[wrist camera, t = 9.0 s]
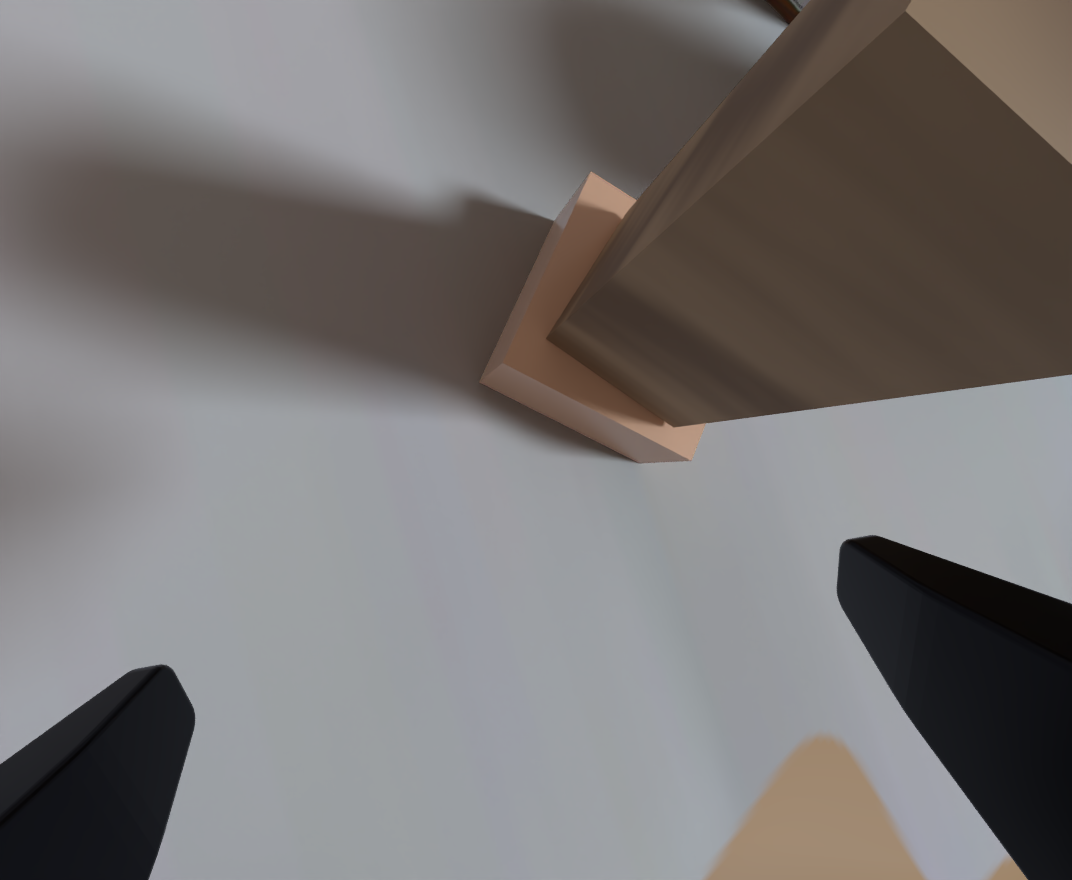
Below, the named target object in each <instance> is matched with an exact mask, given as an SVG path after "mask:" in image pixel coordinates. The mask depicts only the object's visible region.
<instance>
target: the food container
mask: <svg viewBox="0 0 1072 880" xmlns="http://www.w3.org/2000/svg"><path fill="white" fill-rule="evenodd" d="M765 1H766V2H767V3H768V4H769V5H770V6H771V7H772V8H773V9H774V10H775V11H776V12H777V13H778V14H779V15H780V16H781V17H782V18H783V19H784V20H785V21H786V22H787V23H788V24H790V23H791V22H792V21H793V20H794V18H795V17H796V16H797V15H798V14H799V13H800V12H801V10H802V9H803V8H804V7H805V6H806V5H807V3H808V2H809V1H810V0H765Z"/></svg>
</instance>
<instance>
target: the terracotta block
mask: <svg viewBox="0 0 1072 880" xmlns="http://www.w3.org/2000/svg"><path fill="white" fill-rule="evenodd" d="M636 201H637V200H635V199H634V198H632V197H631V196H629V195H627V194H626V193H624V192H623V191H621V190H620V189H618V188H616V187H615V186H613V185H612V184H610V183H609V182H607V181H605V180H604V179H602V178H601V177H599V176H597V175H596V174H594V173H593V172H590V173H589V175H588V176H587V177H586V179H585V180H584V181H583V183H582V184H581V185H580V187H579V188H578V189H577V191H576V192H575V193H574V195H573V196H572V198H571V199H570V200H569V202H568V203H567V204H566V206H565V207H564V208H563V210H562V211H561V212H560V214H559V215H558V216H557V218H556V219H555V221H554V222H553V224H552V227H551V229H550V231H549V233H548V235H547V237H546V239H545V242H544V244H543V246H542V248H541V250H540V252H539V254H538V257H537V259H536V261H535V263H534V265H533V267H532V269H531V272H530V274H529V276H528V278H527V280H526V282H525V284H524V287H523V289H522V291H521V293H520V295H519V297H518V299H517V302H516V304H515V306H514V308H513V310H512V312H511V314H510V317H509V319H508V321H507V323H506V325H505V327H504V329H503V332H502V334H501V336H500V338H499V340H498V342H497V344H496V347H495V349H494V351H493V353H492V355H491V357H490V359H489V362H488V364H487V366H486V368H485V370H484V372H483V374H482V377H481V379H480V381H479V383H481V384H483V385H485V386H487V387H489V388H491V389H493V390H495V391H497V392H499V393H501V394H503V395H505V396H507V397H509V398H511V399H513V400H515V401H517V402H519V403H521V404H523V405H525V406H527V407H529V408H531V409H533V410H535V411H537V412H539V413H541V414H543V415H545V416H547V417H549V418H551V419H553V420H555V421H557V422H559V423H561V424H563V425H565V426H567V427H569V428H571V429H572V430H574V431H576V432H578V433H580V434H582V435H584V436H586V437H588V438H590V439H592V440H594V441H596V442H598V443H600V444H602V445H604V446H606V447H608V448H610V449H612V450H614V451H616V452H618V453H620V454H622V455H624V456H626V457H628V458H630V459H632V460H634V461H636V462H638V463H655V462H677V461H692V458H693V456H694V453H695V450H696V448H697V445H698V443H699V440H700V437H701V435H702V432H703V430H704V427H705V424H706V423H704V424H697V425H689V426H682V427H674V428H673V427H672V426H671V425H669V424H668V423H666V422H665V421H663V420H662V419H660V418H659V417H658V416H656V415H655V414H653V413H652V412H650V411H649V410H648V409H646V408H645V407H643V406H642V405H640V404H639V403H637V402H636V401H635V400H633V399H632V398H630V397H629V396H627V395H626V394H624V393H623V392H622V391H620V390H619V389H617V388H616V387H614V386H613V385H612V384H610V383H609V382H607V381H606V380H604V379H603V378H601V377H600V376H599V375H597V374H596V373H594V372H593V371H591V370H590V369H589V368H587V367H586V366H584V365H583V364H581V363H580V362H578V361H577V360H576V359H574V358H573V357H571V356H570V355H568V354H567V353H566V352H564V351H563V350H561V349H560V348H558V347H557V346H555V345H554V344H553V343H551V342H550V341H548V340H547V339H546V337H547V336H548V334H549V333H550V331H551V330H552V328H553V327H554V325H555V323H556V322H557V320H558V319H559V317H560V316H561V314H562V313H563V311H564V309H565V308H566V306H567V305H568V303H569V302H570V300H571V298H572V297H573V295H574V294H575V292H576V291H577V289H578V288H579V286H580V284H581V283H582V281H583V280H584V278H585V277H586V275H587V273H588V272H589V270H590V269H591V267H592V266H593V264H594V263H595V261H596V259H597V258H598V256H599V255H600V253H601V252H602V250H603V248H604V247H605V245H606V244H607V242H608V241H609V239H610V238H611V236H612V234H613V233H614V231H615V230H616V228H617V227H618V225H619V224H620V222H621V220H622V219H623V217H624V216H625V214H626V213H627V211H628V210H629V209H630V208H631V207H632V205H633V204H634V203H635V202H636Z"/></svg>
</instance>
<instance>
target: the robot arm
mask: <svg viewBox="0 0 1072 880" xmlns="http://www.w3.org/2000/svg"><path fill="white" fill-rule="evenodd" d="M837 596H838V599H839V602H840V605H841V607H842V609H843V611H844V612H845V614H846V616H847V617H848V619H849V621H850V622H851V624H852V626H853V627H854V629H855V631H856V632H857V634H858V636H859V637H860V639H861V641H862V642H863V644H864V646H865V647H866V649H867V651H868V652H869V654H870V656H871V657H872V659H873V661H874V662H875V664H876V666H877V667H878V669H879V671H880V672H881V674H882V676H883V677H884V679H885V681H886V683H887V684H888V686H889V688H890V689H891V691H892V693H893V694H894V696H895V697H896V699H897V700H898V702H899V704H900V705H901V707H902V708H903V710H904V711H905V713H906V714H907V716H908V717H909V718H910V720H911V721H912V723H913V724H914V726H915V727H916V728H917V730H918V731H919V732H920V734H921V735H922V737H923V738H924V739H925V741H926V742H927V743H928V745H929V746H930V747H931V749H932V750H933V752H934V753H935V754H936V756H937V757H938V758H939V760H940V761H941V762H942V764H943V765H944V766H945V768H946V769H947V771H948V772H949V773H950V775H951V776H952V777H953V779H954V780H955V781H956V783H957V784H958V785H959V787H960V788H961V790H962V791H963V792H964V794H965V795H966V796H967V798H968V799H969V800H970V802H971V803H972V804H973V806H974V807H975V809H976V810H977V811H978V813H979V814H980V815H981V817H982V818H983V819H984V821H985V822H986V823H987V825H988V826H989V828H990V829H991V830H992V832H993V833H994V834H995V836H996V837H997V838H998V840H999V841H1000V843H1001V844H1002V845H1003V847H1004V848H1005V849H1006V851H1007V852H1008V853H1009V855H1010V856H1011V857H1012V859H1013V860H1014V862H1015V863H1016V864H1017V866H1018V867H1019V868H1020V870H1021V871H1022V872H1023V874H1024V875H1025V876H1026V878H1027V879H1028V880H1072V604H1071V603H1068V602H1065V601H1062V600H1059V599H1056V598H1054V597H1051V596H1048V595H1045V594H1042V593H1039V592H1036V591H1034V590H1031V589H1028V588H1025V587H1022V586H1019V585H1016V584H1014V583H1011V582H1008V581H1005V580H1002V579H999V578H996V577H994V576H991V575H988V574H985V573H982V572H979V571H977V570H974V569H971V568H968V567H965V566H962V565H959V564H957V563H954V562H951V561H948V560H945V559H942V558H940V557H937V556H934V555H931V554H928V553H925V552H922V551H920V550H917V549H914V548H911V547H908V546H905V545H903V544H900V543H897V542H894V541H891V540H888V539H885V538H883V537H880V536H876V535H869V536H863V537H858V538H852V539H848V540H846V541H844V542H843V543H842V545H841V547H840V553H839V566H838V578H837ZM194 726H195V713H194V708H193V706H192V704H191V702H190V700H189V698H188V697H187V695H186V693H185V691H184V689H183V687H182V685H181V683H180V682H179V680H178V678H177V676H176V674H175V672H174V671H173V669H172V668H170V667H169V666H167V665H155V666H149V667H144V668H138V669H134V670H132V671H130V672H128V673H126V674H125V675H124V676H122V677H121V678H119V679H118V680H117V681H115V682H114V683H112V684H111V685H110V686H108V687H107V688H106V689H104V690H103V691H101V692H100V693H99V694H97V695H96V696H94V697H93V698H92V699H90V700H89V701H87V702H86V703H85V704H83V705H82V706H81V707H79V708H78V709H76V710H75V711H74V712H72V713H71V714H69V715H68V716H67V717H65V718H64V719H63V720H61V721H60V722H58V723H57V724H56V725H54V726H53V727H51V728H50V729H49V730H47V731H46V732H44V733H43V734H42V735H40V736H39V737H38V738H36V739H35V740H33V741H32V742H31V743H29V744H28V745H26V746H25V747H24V748H22V749H21V750H20V751H18V752H17V753H15V754H14V755H13V756H11V757H10V758H8V759H7V760H6V761H4V762H3V763H1V764H0V880H149V877H150V874H151V871H152V869H153V866H154V863H155V860H156V857H157V855H158V851H159V848H160V845H161V842H162V839H163V836H164V833H165V829H166V826H167V822H168V819H169V815H170V812H171V808H172V805H173V801H174V798H175V794H176V791H177V787H178V784H179V780H180V777H181V773H182V770H183V766H184V763H185V759H186V756H187V752H188V749H189V745H190V742H191V738H192V735H193V731H194Z"/></svg>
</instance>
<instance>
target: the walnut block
mask: <svg viewBox="0 0 1072 880" xmlns="http://www.w3.org/2000/svg"><path fill="white" fill-rule="evenodd" d="M546 339H547V340H548V341H550V342H551V343H553V344H554V345H555V346H557V347H558V348H560V349H561V350H563V351H564V352H566V353H567V354H568V355H570V356H571V357H573V358H574V359H576V360H577V361H578V362H580V363H581V364H583V365H584V366H586V367H587V368H589V369H590V370H591V371H593V372H594V373H596V374H597V375H599V376H600V377H601V378H603V379H604V380H606V381H607V382H609V383H610V384H612V385H613V386H614V387H616V388H617V389H619V390H620V391H622V392H623V393H624V394H626V395H627V396H629V397H630V398H632V399H633V400H635V401H636V402H637V403H639V404H640V405H642V406H643V407H645V408H646V409H648V410H649V411H650V412H652V413H653V414H655V415H656V416H658V417H659V418H660V419H662V420H663V421H665V422H666V423H668V424H669V425H671V426H672V427H673V428H674V427H682V426H689V425H697V424H704V423H712V422H719V421H727V420H734V419H742V418H749V417H757V416H764V415H772V414H779V413H787V412H794V411H802V410H809V409H817V408H824V407H831V406H839V405H846V404H854V403H861V402H869V401H876V400H884V399H891V398H899V397H906V396H914V395H921V394H929V393H936V392H944V391H951V390H959V389H966V388H974V387H981V386H989V385H996V384H1003V383H1011V382H1018V381H1026V380H1033V379H1041V378H1048V377H1056V376H1063V375H1071V374H1072V0H810V1H809V2H808V3H807V5H806V6H805V7H804V8H803V9H802V10H801V12H800V13H799V14H798V15H797V16H796V17H795V18H794V20H793V21H792V22H791V23H790V24H789V25H788V27H787V28H786V29H785V30H784V31H783V32H782V33H781V35H780V36H779V37H778V38H777V39H776V40H775V42H774V43H773V44H772V45H771V46H770V47H769V48H768V50H767V51H766V52H765V53H764V54H763V55H762V57H761V58H760V59H759V60H758V61H757V62H756V63H755V65H754V66H753V67H752V68H751V69H750V70H749V72H748V73H747V74H746V75H745V76H744V77H743V79H742V80H741V81H740V82H739V83H738V84H737V85H736V87H735V88H734V89H733V90H732V91H731V92H730V94H729V95H728V96H727V97H726V98H725V99H724V100H723V102H722V103H721V104H720V105H719V106H718V107H717V109H716V110H715V111H714V112H713V113H712V114H711V115H710V117H709V118H708V119H707V120H706V121H705V122H704V124H703V125H702V126H701V127H700V128H699V129H698V130H697V132H696V133H695V134H694V135H693V136H692V137H691V139H690V140H689V141H688V142H687V143H686V144H685V145H684V147H683V148H682V149H681V150H680V151H679V152H678V154H677V155H676V156H675V157H674V158H673V159H672V160H671V162H670V163H669V164H668V165H667V166H666V167H665V169H664V170H663V171H662V172H661V173H660V174H659V175H658V177H657V178H656V179H655V180H654V181H653V182H652V184H651V185H650V186H649V187H648V188H647V189H646V190H645V192H644V193H643V194H642V195H641V196H640V197H639V199H638V200H637V201H636V202H635V203H634V204H633V205H632V207H631V208H630V209H629V210H628V211H627V213H626V214H625V216H624V217H623V219H622V220H621V222H620V224H619V225H618V227H617V228H616V230H615V231H614V233H613V234H612V236H611V238H610V239H609V241H608V242H607V244H606V245H605V247H604V248H603V250H602V252H601V253H600V255H599V256H598V258H597V259H596V261H595V263H594V264H593V266H592V267H591V269H590V270H589V272H588V273H587V275H586V277H585V278H584V280H583V281H582V283H581V284H580V286H579V288H578V289H577V291H576V292H575V294H574V295H573V297H572V298H571V300H570V302H569V303H568V305H567V306H566V308H565V309H564V311H563V313H562V314H561V316H560V317H559V319H558V320H557V322H556V323H555V325H554V327H553V328H552V330H551V331H550V333H549V334H548V336H547V337H546Z"/></svg>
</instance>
